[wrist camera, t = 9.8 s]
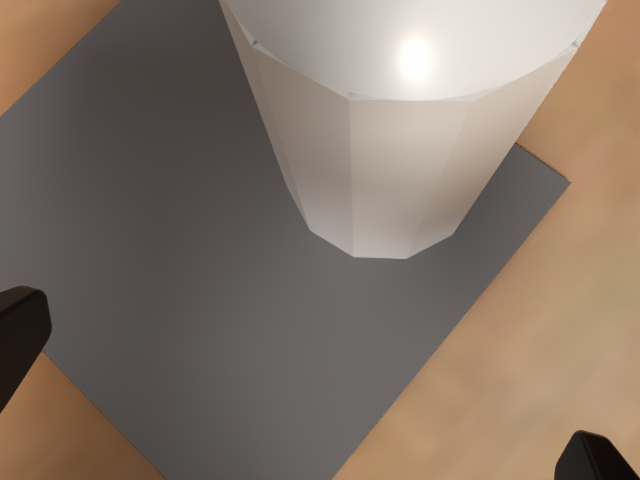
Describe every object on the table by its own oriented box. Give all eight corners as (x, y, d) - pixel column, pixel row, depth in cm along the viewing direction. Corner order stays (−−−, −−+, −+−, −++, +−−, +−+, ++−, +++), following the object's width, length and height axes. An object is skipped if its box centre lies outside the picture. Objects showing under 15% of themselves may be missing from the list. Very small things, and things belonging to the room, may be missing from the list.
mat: (568, 185, 21) (571, 182, 21) (257, 569, 18) (255, 572, 18) (204, -72, 25) (202, -78, 25) (-90, 210, 22) (-96, 208, 22)
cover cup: (513, 202, 20) (719, -24, 9) (342, 292, 20) (323, 176, 8) (417, 54, 22) (483, -295, 11) (258, 133, 22) (148, -141, 10)
